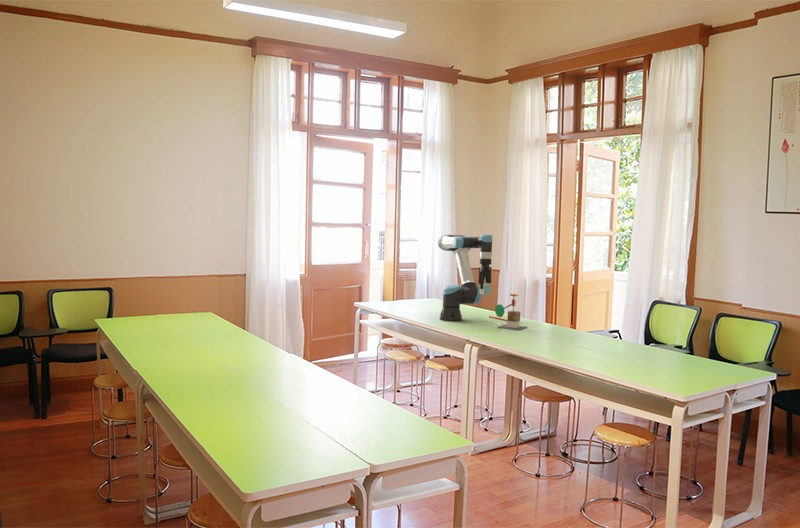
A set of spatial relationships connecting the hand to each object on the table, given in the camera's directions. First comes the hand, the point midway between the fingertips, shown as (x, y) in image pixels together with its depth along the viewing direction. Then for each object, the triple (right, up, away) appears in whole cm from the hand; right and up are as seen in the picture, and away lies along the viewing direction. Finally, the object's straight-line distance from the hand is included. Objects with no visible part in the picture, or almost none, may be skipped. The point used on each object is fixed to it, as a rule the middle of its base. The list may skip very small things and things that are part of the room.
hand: (484, 293), depth 431 cm
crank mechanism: (+17, -20, +28) cm, 38 cm away
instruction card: (+13, -21, +7) cm, 26 cm away
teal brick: (0, 0, 0) cm, 0 cm away
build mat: (+18, -22, -3) cm, 29 cm away
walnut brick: (+18, -17, -4) cm, 26 cm away
